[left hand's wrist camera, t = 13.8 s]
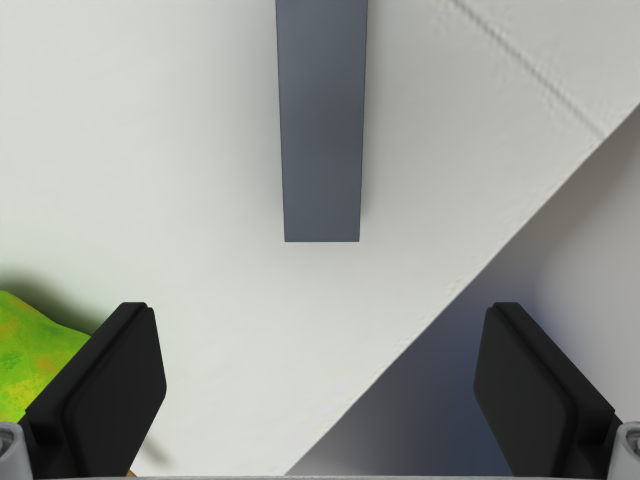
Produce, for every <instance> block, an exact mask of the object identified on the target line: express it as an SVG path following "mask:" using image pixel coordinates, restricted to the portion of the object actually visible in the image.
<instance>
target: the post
mask: <svg viewBox="0 0 640 480" xmlns="http://www.w3.org/2000/svg"><path fill="white" fill-rule="evenodd" d="M367 4H368V0H276V25H277V52H278V78H279V104H280V131H281V157H282V183H283V210H284V236H285V242H359V235H360V206H361V177H362V148H363V120H364V91H365V62H366V33H367Z"/></svg>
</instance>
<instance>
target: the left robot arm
mask: <svg viewBox="0 0 640 480" xmlns="http://www.w3.org/2000/svg"><path fill="white" fill-rule="evenodd" d="M166 389H167V385H166V378H165V373H164V367H163V361H162V355H161V350H160V344H159V338H158V332H157V326H156V321H155V315H154V311H153V309H152V308H151V307H148V306H147V305H146V303H144V302H123V303H122V304H120V305H119V306H118V308H117V309H116V310H115V311H114V312H113V313H112V314H111V315H110V316H109V318H108V319H107V320H106V321H105V322H104V323H103V324H102V325H101V326H100V327H99V329H98V330H97V331H96V332H95V333H94V334H93V335H92V336H91V337H90V339H89V340H88V341H87V342H86V343H85V344H84V345H83V346H82V347H81V348H80V350H79V351H78V352H77V353H76V354H75V355H74V356H73V357H72V358H71V360H70V361H69V362H68V363H67V364H66V365H65V366H64V367H63V368H62V369H61V371H60V372H59V373H58V374H57V375H56V376H55V377H54V378H53V379H52V381H51V382H50V383H49V384H48V385H47V386H46V387H45V388H44V389H43V390H42V392H41V393H40V394H39V395H38V396H37V397H36V398H35V399H34V400H33V402H32V403H31V404H30V405H29V406H28V407H27V408H26V409H25V413H26V414H25V415H24V416H23V417H22V418H21V419H20V420H19V421H18V422H17V424H16V423H14V422H6V421H2V422H0V480H640V422H638V421H634V422H626V423H624V424H623V423H622V421H621V420H620V419H619V418H618V417H617V416H616V415H615V414H614V413H615V409H614V408H613V407H612V406H611V405H610V404H609V403H608V402H607V400H606V399H605V398H604V397H603V396H602V395H601V394H600V393H599V392H598V390H597V389H596V388H595V387H594V386H593V385H592V384H591V383H590V382H589V381H588V379H587V378H586V377H585V376H584V375H583V374H582V373H581V372H580V371H579V369H578V368H577V367H576V366H575V365H574V364H573V363H572V362H571V361H570V360H569V358H568V357H567V356H566V355H565V354H564V353H563V352H562V351H561V350H560V348H559V347H558V346H557V345H556V344H555V343H554V342H553V341H552V340H551V339H550V337H549V336H548V335H547V334H546V333H545V332H544V331H543V330H542V329H541V327H540V326H539V325H538V324H537V323H536V322H535V321H534V320H533V319H532V318H531V316H530V315H529V314H528V313H527V312H526V311H525V310H524V309H523V308H522V306H521V305H520V304H518V303H517V302H496V303H494V305H493V307H489V308H488V309H487V311H486V315H485V321H484V327H483V332H482V338H481V344H480V350H479V355H478V361H477V367H476V373H475V378H474V385H473V389H474V395H475V398H476V400H477V402H478V404H479V406H480V408H481V410H482V412H483V414H484V416H485V418H486V420H487V422H488V424H489V426H490V428H491V430H492V432H493V434H494V437H495V439H496V440H497V443H498V445H499V447H500V449H501V451H502V453H503V455H504V457H505V459H506V461H507V463H508V465H509V467H510V469H511V471H512V473H513V475H514V477H471V476H169V477H126V475H127V473H128V471H129V469H130V467H131V465H132V463H133V461H134V459H135V457H136V455H137V453H138V451H139V449H140V447H141V445H142V443H143V441H144V439H145V436H146V434H147V432H148V430H149V428H150V426H151V424H152V422H153V420H154V418H155V416H156V414H157V412H158V410H159V408H160V406H161V404H162V402H163V400H164V398H165V395H166Z"/></svg>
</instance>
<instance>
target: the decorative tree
mask: <svg viewBox="0 0 640 480" xmlns="http://www.w3.org/2000/svg"><path fill="white" fill-rule="evenodd" d="M90 337H91V336H89V335H87V334H85V333H82V332H79V331H77V330H73V329H70V328H67V327H64V326H61V325H59V324H56V323H55V322H53V321H52V320H50V319H49V318H48V317H46V316H45V315H43V314H42V313H40V312H39V311H37V310H36V309H34V308H33V307H31V306H30V305H28V304H27V303H25V302H24V301H22V300H20V299H19V298H17V297H16V296H14V295H12V294H10V293H9V292H7V291H3V290H0V422H2V421H6V422H14V423H16V424H17V422H18V421H19V420H20V419H21V418H22V417H23V416H24V415H25V414H26V413H25V409H26V408H27V407H28V406H29V405H30V404H31V403H32V402H33V400H34V399H35V398H36V397H37V396H38V395H39V394H40V393H41V392H42V390H43V389H44V388H45V387H46V386H47V385H48V384H49V383H50V382H51V381H52V379H53V378H54V377H55V376H56V375H57V374H58V373H59V372H60V371H61V369H62V368H63V367H64V366H65V365H66V364H67V363H68V362H69V361H70V360H71V358H72V357H73V356H74V355H75V354H76V353H77V352H78V351H79V350H80V348H81V347H82V346H83V345H84V344H85V343H86V342H87V341H88V340H89V339H90ZM126 477H137V476H136V475H135V474H134V473H133V472H132V471H131V470H130V469H129V471H128V473H127V475H126Z"/></svg>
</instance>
